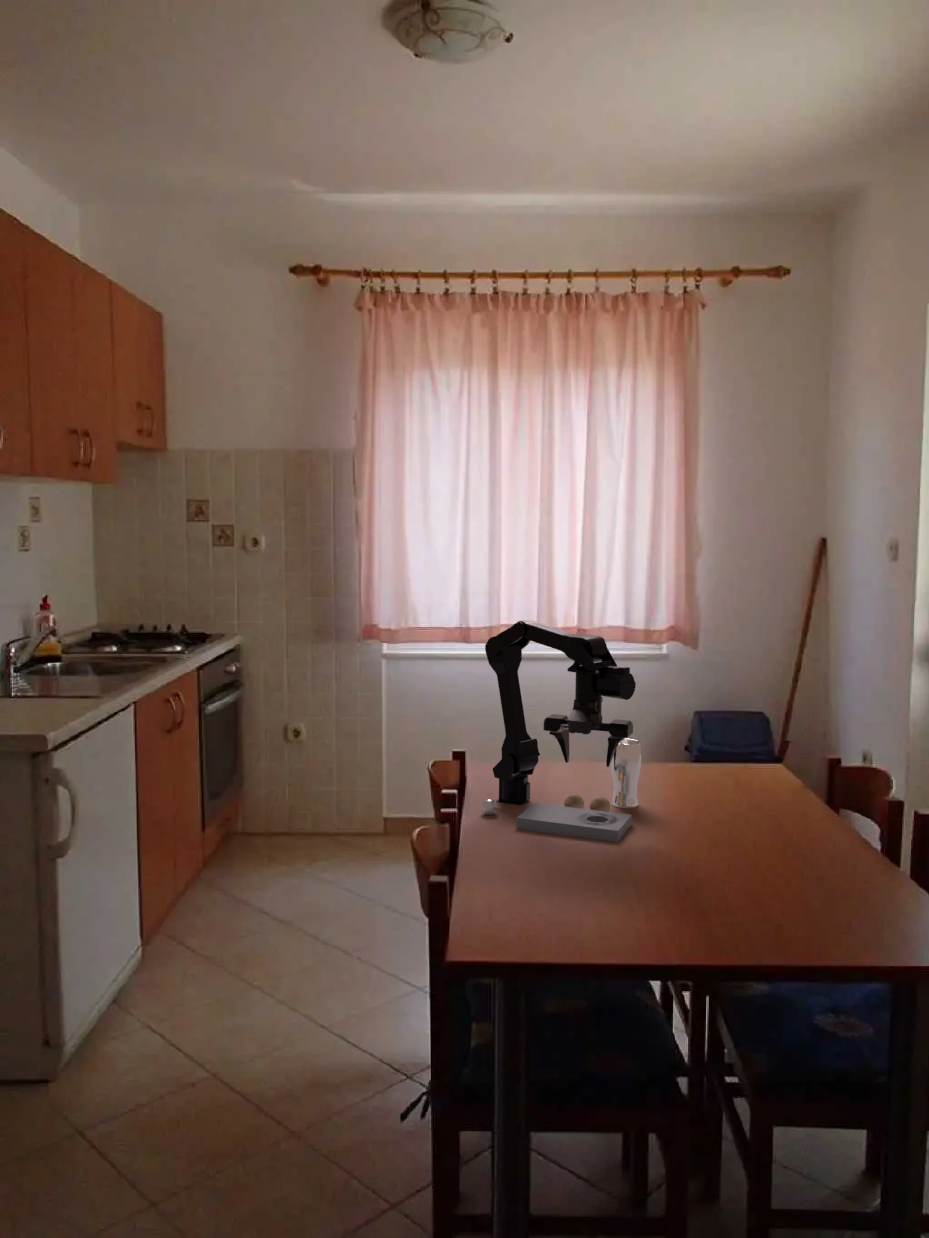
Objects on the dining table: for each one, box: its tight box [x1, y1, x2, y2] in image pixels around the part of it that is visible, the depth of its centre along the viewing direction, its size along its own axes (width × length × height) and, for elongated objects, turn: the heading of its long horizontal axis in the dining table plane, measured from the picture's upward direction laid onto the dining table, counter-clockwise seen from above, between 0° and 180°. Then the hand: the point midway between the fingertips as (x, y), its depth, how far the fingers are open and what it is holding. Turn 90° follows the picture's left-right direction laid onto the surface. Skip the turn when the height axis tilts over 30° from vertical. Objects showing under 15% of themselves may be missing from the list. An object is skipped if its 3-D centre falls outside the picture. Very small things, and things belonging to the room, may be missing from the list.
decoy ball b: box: [589, 795, 611, 812], centre depth 208 cm, size 4×4×4 cm
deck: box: [515, 802, 633, 843], centre depth 200 cm, size 22×12×2 cm, turn 67°
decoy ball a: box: [563, 792, 585, 809], centre depth 210 cm, size 4×4×4 cm
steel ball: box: [481, 798, 498, 816], centre depth 209 cm, size 4×4×4 cm
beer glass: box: [610, 738, 642, 809], centre depth 216 cm, size 7×7×15 cm
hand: (587, 764), depth 204 cm, fingers open, 9 cm apart
